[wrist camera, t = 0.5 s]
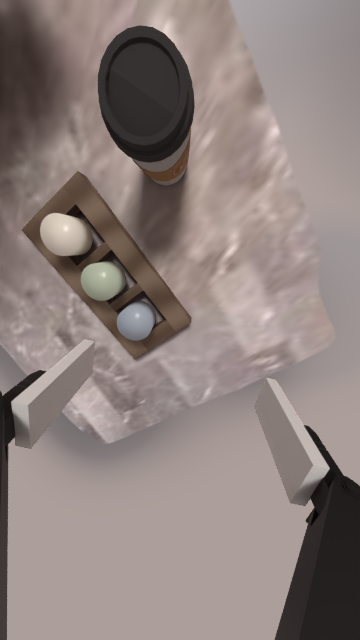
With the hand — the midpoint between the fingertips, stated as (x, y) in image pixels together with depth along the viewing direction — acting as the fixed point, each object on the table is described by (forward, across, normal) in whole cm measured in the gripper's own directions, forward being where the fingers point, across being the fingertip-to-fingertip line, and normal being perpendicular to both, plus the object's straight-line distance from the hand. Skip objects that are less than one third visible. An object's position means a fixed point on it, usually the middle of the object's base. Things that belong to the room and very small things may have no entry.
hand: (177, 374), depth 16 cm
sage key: (+20, -13, +2) cm, 24 cm away
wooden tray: (+23, -13, +2) cm, 27 cm away
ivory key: (+20, -19, +7) cm, 29 cm away
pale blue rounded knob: (+20, -7, -4) cm, 22 cm away
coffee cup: (+23, -7, +20) cm, 32 cm away
